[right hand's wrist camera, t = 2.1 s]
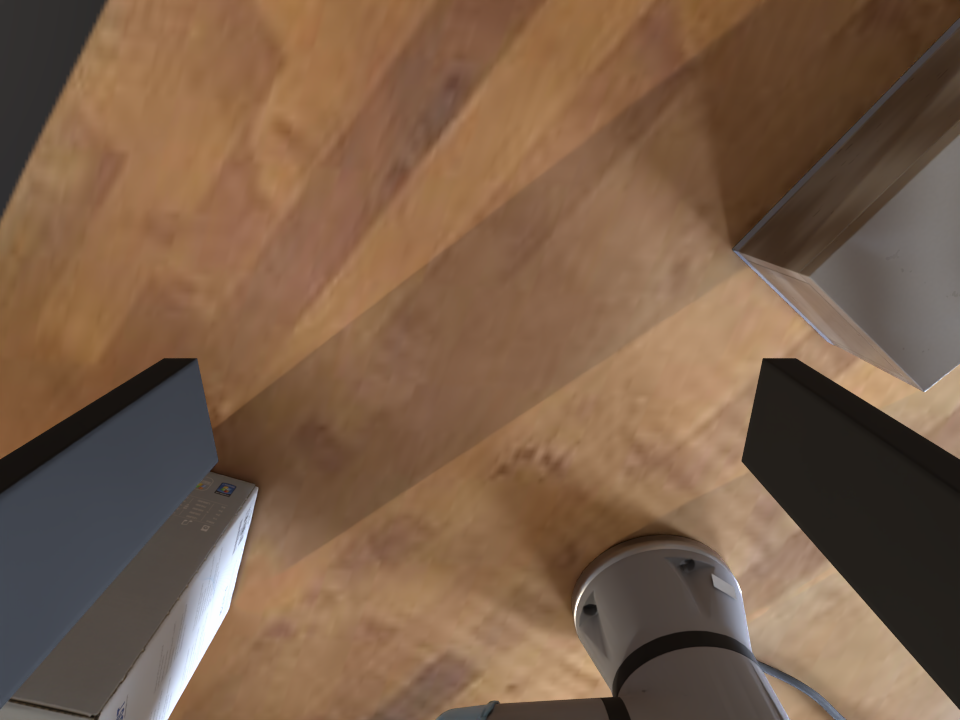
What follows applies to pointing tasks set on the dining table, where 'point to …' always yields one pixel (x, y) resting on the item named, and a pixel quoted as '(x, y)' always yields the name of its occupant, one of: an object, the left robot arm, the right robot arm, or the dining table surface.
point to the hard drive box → (148, 618)
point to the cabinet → (880, 229)
